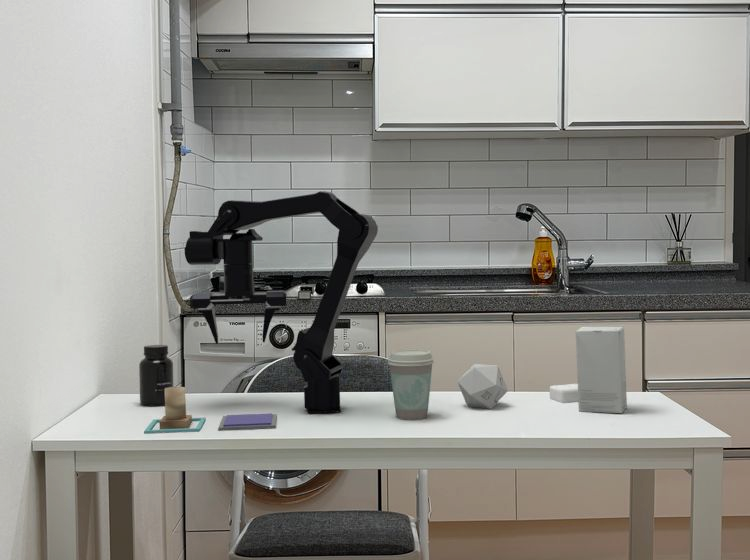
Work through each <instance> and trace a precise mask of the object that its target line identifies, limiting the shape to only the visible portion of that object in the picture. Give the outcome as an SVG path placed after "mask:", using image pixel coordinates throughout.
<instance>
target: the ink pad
mask: <svg viewBox="0 0 750 560" xmlns="http://www.w3.org/2000/svg"><path fill="white" fill-rule="evenodd" d="M277 417H278V413H271V412H269V413H249V414H248V413H247V414H227V415H222V417H221V420H220V422H219V425H218V427H217V428H218V431H239V430H244V431H245V430H263V429H264V430H265V429H267V430H269V429H276V427H277V419H278V418H277Z"/></svg>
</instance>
